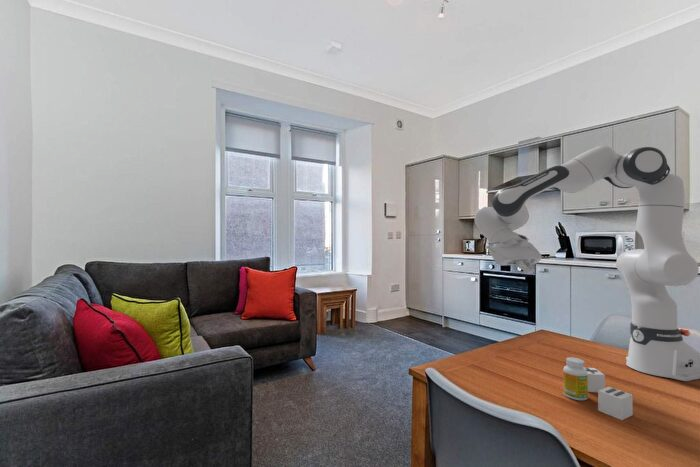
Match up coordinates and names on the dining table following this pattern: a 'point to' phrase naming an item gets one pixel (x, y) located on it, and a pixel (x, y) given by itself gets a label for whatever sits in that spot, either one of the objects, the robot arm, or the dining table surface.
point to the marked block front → (615, 403)
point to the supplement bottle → (575, 379)
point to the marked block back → (595, 380)
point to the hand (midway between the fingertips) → (530, 272)
